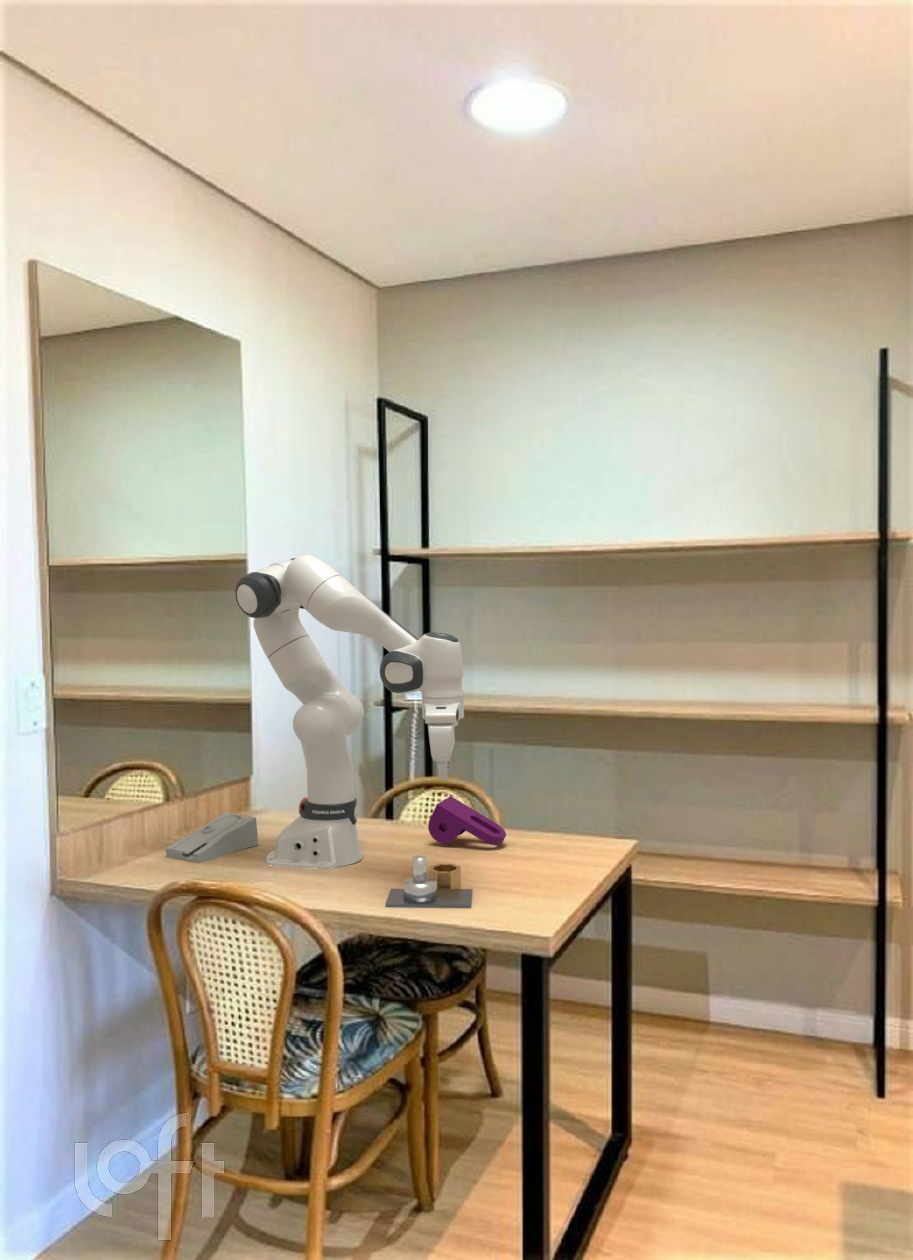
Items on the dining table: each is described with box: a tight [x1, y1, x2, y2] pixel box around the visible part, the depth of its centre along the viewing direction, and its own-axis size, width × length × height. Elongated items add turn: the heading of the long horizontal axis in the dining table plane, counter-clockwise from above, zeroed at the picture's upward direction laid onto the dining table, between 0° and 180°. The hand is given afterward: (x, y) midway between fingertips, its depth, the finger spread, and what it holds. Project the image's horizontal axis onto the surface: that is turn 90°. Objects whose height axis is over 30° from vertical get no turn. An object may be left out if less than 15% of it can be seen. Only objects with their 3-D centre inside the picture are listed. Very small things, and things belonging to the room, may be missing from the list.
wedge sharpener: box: [165, 812, 259, 864], centre depth 239 cm, size 11×20×7 cm, turn 148°
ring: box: [428, 863, 462, 889], centre depth 207 cm, size 7×7×4 cm
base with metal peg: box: [384, 855, 474, 909], centre depth 198 cm, size 17×10×9 cm, turn 87°
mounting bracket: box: [427, 795, 507, 846], centre depth 244 cm, size 9×8×18 cm
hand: (444, 774), depth 206 cm, fingers open, 8 cm apart
